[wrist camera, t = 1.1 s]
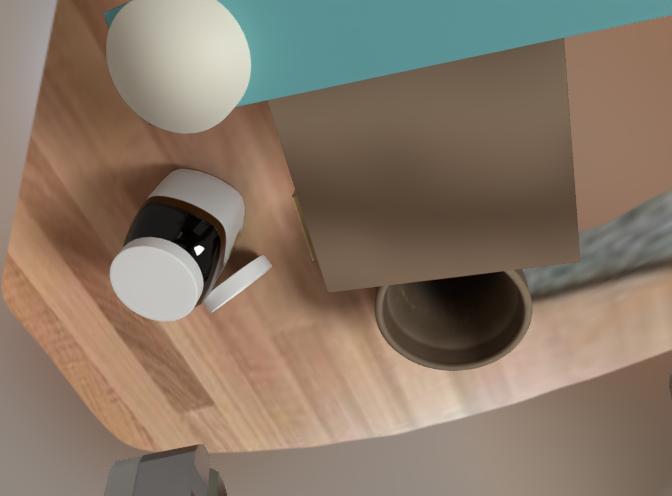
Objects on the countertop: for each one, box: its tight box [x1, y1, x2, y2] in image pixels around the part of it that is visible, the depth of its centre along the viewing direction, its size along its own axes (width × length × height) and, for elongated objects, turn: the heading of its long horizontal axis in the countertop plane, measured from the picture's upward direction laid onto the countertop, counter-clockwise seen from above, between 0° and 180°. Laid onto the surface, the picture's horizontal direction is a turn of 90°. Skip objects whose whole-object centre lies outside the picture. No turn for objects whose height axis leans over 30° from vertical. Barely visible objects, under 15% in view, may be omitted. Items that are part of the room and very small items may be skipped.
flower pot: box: [375, 269, 532, 371], centre depth 50 cm, size 12×11×10 cm
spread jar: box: [110, 169, 272, 321], centre depth 52 cm, size 12×11×12 cm
